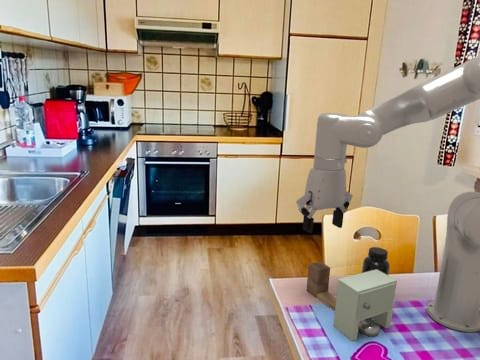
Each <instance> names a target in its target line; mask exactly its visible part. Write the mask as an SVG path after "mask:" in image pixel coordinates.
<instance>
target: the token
mask: <svg viewBox="0 0 480 360" xmlns="http://www.w3.org/2000/svg"><path fill="white" fill-rule="evenodd" d="M379 332H380V324H378V323H377V322H376V321H374V320H373V319H371V318H367V319H364V320H361V321H359V326H358V333H359V334H360V335H362V336H364V337H367V338H377V337H378V336H379Z"/></svg>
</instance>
